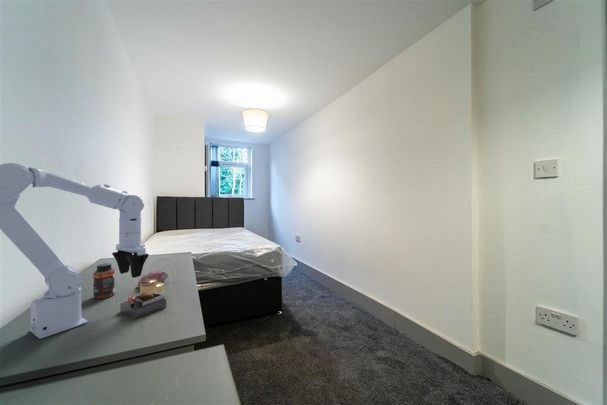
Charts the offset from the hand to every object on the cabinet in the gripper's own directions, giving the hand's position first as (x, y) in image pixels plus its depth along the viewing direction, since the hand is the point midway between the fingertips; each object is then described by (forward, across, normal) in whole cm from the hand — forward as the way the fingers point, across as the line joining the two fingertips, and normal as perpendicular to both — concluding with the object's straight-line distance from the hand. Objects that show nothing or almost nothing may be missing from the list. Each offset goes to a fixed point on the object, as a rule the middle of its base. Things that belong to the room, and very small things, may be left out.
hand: (130, 274), depth 78 cm
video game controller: (+11, +14, -15) cm, 23 cm away
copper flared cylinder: (+8, -6, -3) cm, 10 cm away
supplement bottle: (+11, +17, 0) cm, 20 cm away
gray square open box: (+10, -6, -1) cm, 12 cm away
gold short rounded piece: (+10, +2, -9) cm, 14 cm away
